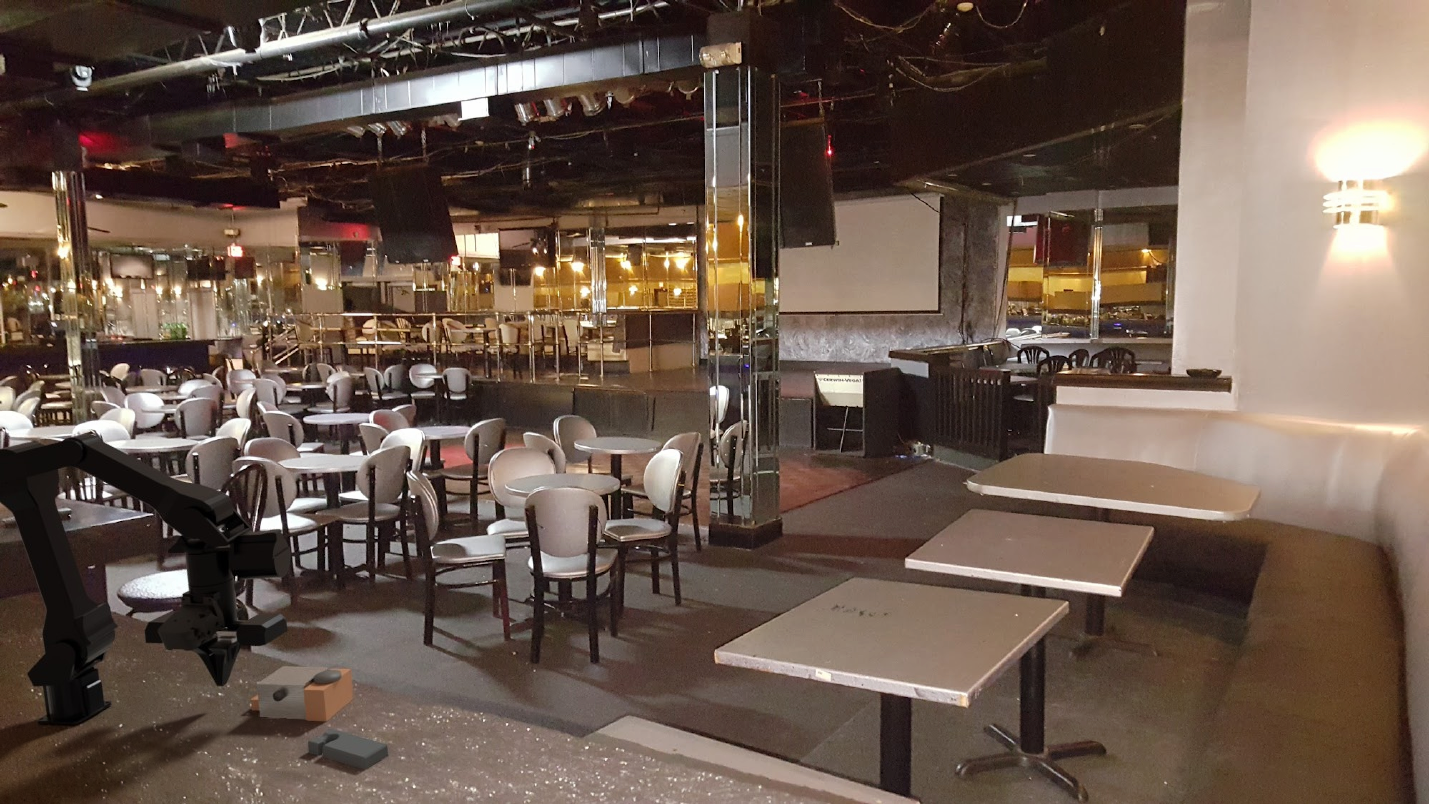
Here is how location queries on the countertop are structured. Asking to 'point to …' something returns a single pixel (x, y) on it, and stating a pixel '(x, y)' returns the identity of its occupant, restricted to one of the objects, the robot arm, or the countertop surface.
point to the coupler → (324, 694)
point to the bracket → (348, 748)
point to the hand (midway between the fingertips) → (222, 685)
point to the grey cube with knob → (286, 692)
